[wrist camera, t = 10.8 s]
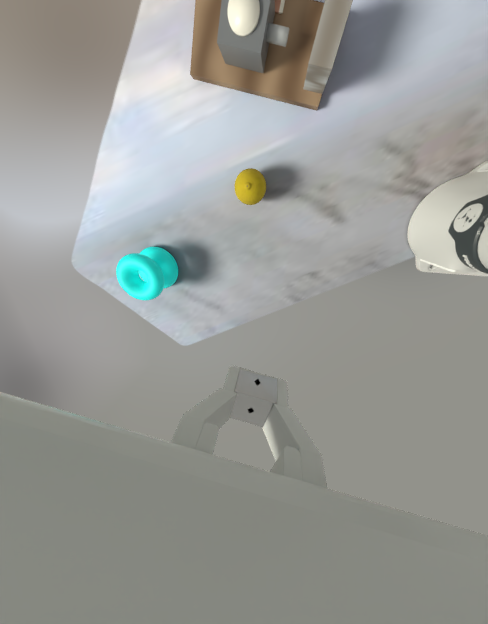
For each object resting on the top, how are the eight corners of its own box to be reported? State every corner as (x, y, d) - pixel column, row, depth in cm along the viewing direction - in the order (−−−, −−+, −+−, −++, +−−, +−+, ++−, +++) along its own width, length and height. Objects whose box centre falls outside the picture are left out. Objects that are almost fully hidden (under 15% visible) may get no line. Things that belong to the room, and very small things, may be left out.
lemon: (241, 168, 40) (233, 161, 33) (270, 174, 40) (268, 169, 33) (236, 201, 42) (228, 201, 35) (263, 207, 42) (260, 208, 35)
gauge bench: (344, 17, 30) (366, -45, 22) (316, 110, 34) (326, 85, 27) (201, -18, 30) (175, -90, 23) (193, 78, 35) (170, 46, 28)
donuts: (169, 288, 43) (138, 310, 46) (188, 273, 51) (160, 292, 55) (134, 245, 39) (103, 272, 43) (160, 236, 48) (133, 260, 52)
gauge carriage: (298, -3, 28) (302, -44, 24) (280, 77, 32) (280, 56, 27) (235, -18, 29) (227, -62, 24) (225, 63, 32) (216, 40, 28)
